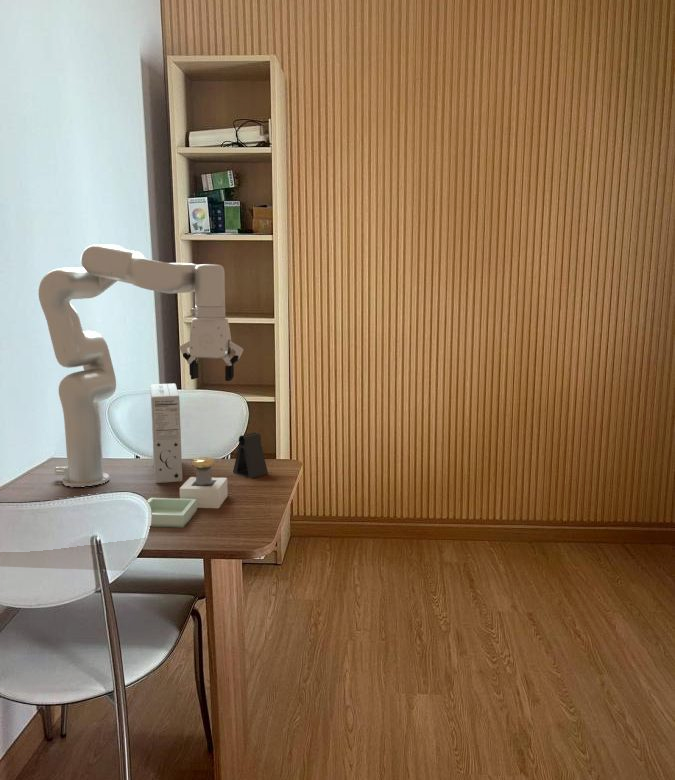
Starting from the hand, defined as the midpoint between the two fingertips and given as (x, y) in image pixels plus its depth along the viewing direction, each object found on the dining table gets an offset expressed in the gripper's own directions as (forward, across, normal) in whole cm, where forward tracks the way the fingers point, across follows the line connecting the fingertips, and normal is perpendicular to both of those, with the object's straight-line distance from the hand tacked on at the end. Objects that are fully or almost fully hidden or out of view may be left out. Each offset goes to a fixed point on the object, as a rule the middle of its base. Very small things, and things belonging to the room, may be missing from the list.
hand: (211, 379), depth 188 cm
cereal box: (+32, -23, +18) cm, 43 cm away
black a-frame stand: (+32, +1, +23) cm, 39 cm away
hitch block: (+32, -1, -4) cm, 32 cm away
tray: (+32, -4, -18) cm, 37 cm away
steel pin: (+32, -1, -4) cm, 32 cm away
